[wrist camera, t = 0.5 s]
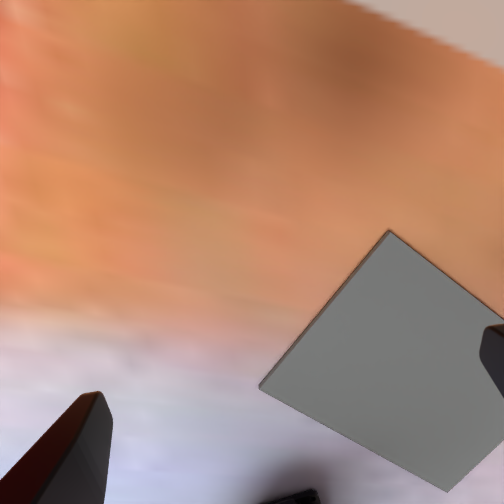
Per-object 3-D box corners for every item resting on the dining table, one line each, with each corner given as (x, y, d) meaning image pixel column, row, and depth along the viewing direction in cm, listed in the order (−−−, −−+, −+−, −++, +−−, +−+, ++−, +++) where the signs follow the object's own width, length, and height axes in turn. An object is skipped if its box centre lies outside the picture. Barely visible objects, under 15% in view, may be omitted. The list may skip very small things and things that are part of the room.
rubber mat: (444, 488, 32) (447, 492, 31) (258, 385, 27) (259, 389, 26) (568, 371, 29) (573, 374, 29) (387, 230, 24) (390, 232, 23)
